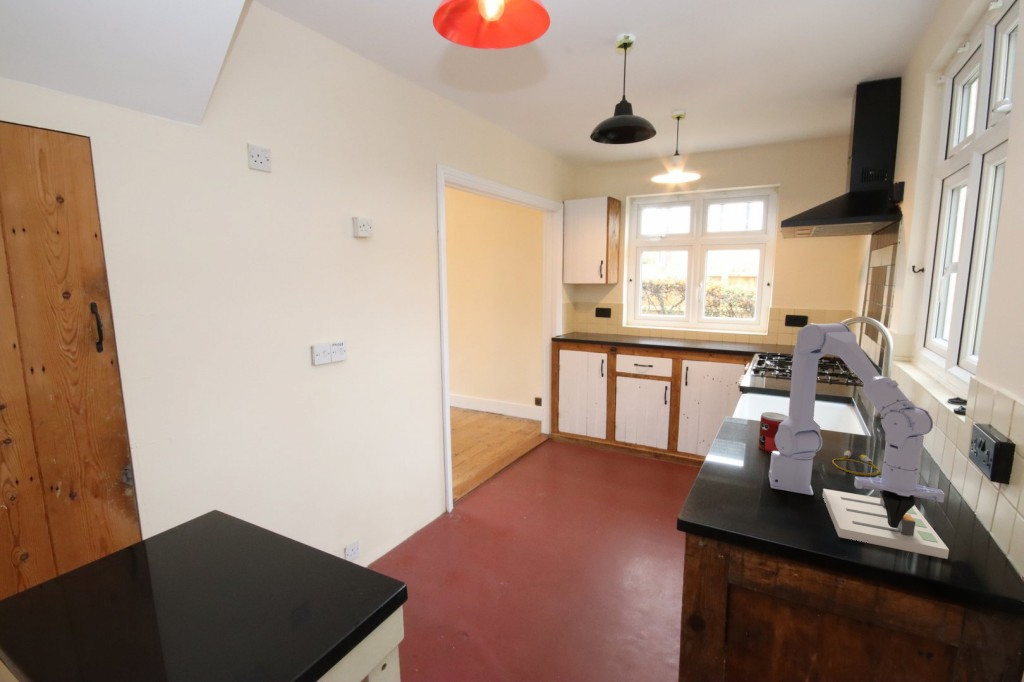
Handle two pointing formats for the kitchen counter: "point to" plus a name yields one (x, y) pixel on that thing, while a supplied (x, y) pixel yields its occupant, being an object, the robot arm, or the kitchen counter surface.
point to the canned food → (769, 430)
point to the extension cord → (862, 457)
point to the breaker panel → (880, 524)
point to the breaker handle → (907, 525)
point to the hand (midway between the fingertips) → (892, 525)
